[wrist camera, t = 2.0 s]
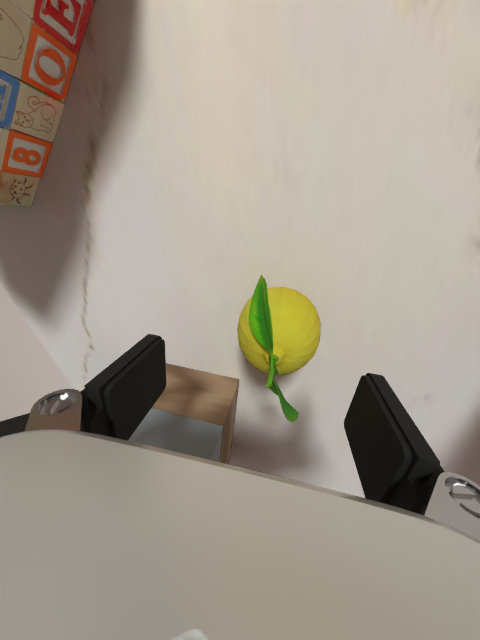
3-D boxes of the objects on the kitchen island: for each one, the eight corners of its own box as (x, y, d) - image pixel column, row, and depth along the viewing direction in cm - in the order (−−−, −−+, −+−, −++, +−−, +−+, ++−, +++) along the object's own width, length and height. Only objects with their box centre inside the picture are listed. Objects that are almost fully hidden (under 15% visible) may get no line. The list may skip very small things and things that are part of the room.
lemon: (296, 356, 20) (299, 461, 11) (236, 329, 20) (192, 412, 11) (336, 289, 17) (382, 359, 8) (265, 259, 18) (236, 297, 9)
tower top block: (222, 426, 17) (187, 528, 12) (215, 513, 22) (187, 615, 16) (87, 391, 19) (-2, 464, 13) (108, 478, 24) (49, 560, 18)
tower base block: (239, 378, 23) (223, 425, 17) (230, 456, 28) (215, 512, 22) (133, 354, 25) (88, 391, 19) (142, 432, 30) (108, 478, 24)
